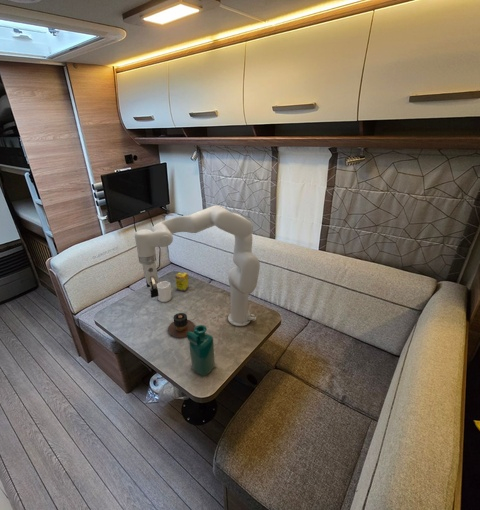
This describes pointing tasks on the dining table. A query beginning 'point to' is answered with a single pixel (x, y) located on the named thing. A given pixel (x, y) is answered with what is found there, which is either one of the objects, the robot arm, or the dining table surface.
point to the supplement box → (182, 281)
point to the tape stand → (181, 329)
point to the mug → (164, 291)
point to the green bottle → (201, 350)
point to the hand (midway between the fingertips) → (152, 291)
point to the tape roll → (180, 320)
